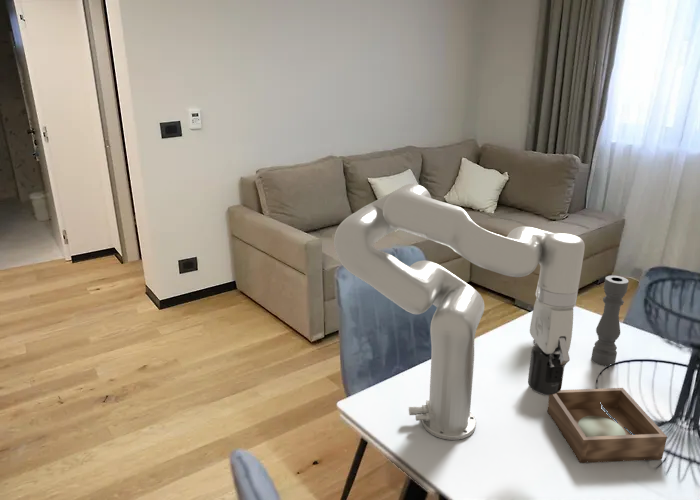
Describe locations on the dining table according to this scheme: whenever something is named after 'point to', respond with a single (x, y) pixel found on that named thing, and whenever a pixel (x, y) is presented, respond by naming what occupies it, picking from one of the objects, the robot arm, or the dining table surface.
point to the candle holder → (609, 321)
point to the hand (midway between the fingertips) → (545, 371)
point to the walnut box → (605, 426)
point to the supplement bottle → (541, 372)
